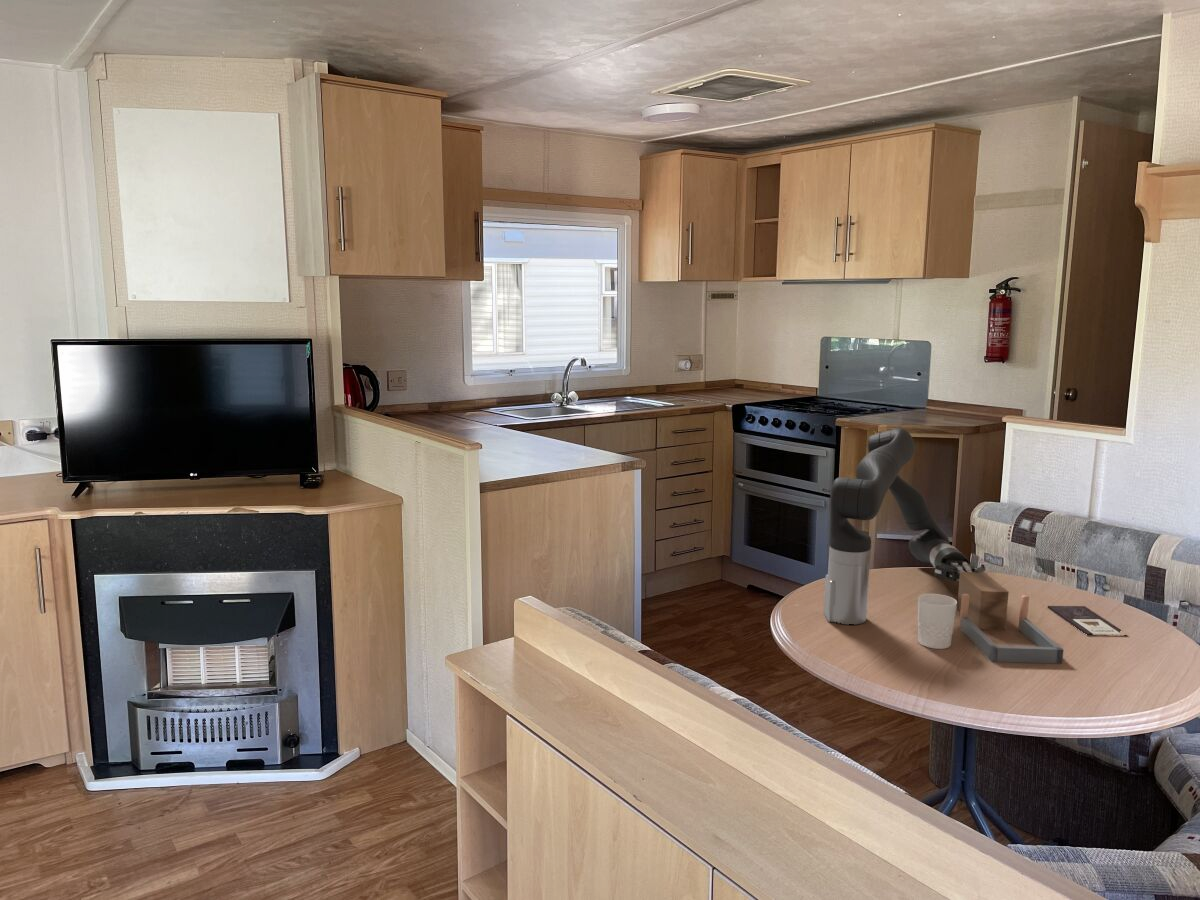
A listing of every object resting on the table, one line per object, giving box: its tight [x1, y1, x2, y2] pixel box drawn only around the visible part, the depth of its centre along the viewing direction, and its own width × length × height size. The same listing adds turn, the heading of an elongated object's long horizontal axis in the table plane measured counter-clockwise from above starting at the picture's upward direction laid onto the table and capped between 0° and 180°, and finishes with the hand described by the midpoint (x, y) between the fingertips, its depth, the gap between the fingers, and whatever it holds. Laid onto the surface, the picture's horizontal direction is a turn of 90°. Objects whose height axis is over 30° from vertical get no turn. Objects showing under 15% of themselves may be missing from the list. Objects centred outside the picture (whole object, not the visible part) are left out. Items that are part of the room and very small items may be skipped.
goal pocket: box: [958, 594, 1064, 664], centre depth 196 cm, size 15×19×8 cm
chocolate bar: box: [1047, 605, 1122, 635], centre depth 211 cm, size 9×1×18 cm
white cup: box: [917, 593, 958, 650], centre depth 196 cm, size 8×8×10 cm
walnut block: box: [956, 572, 1009, 631], centre depth 211 cm, size 6×14×9 cm, turn 177°
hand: (972, 582), depth 218 cm, fingers closed
